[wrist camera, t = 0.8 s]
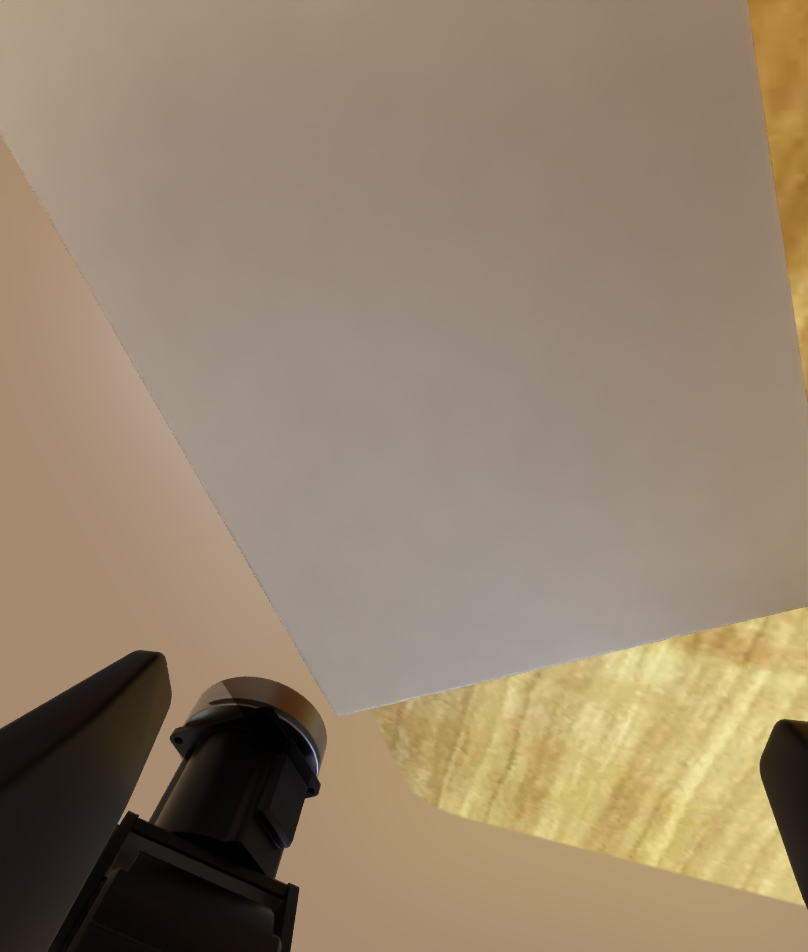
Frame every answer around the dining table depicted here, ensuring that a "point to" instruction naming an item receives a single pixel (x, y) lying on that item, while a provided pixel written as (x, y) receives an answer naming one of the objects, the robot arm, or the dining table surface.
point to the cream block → (443, 309)
